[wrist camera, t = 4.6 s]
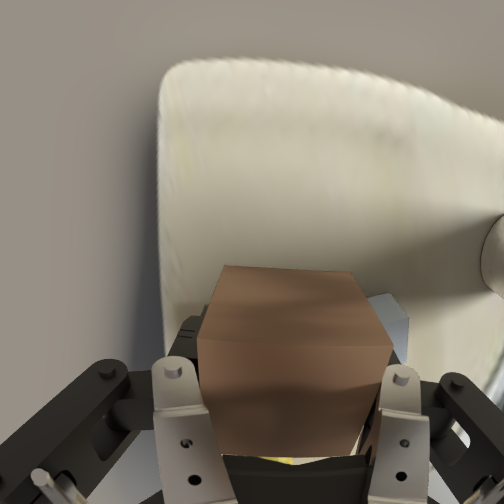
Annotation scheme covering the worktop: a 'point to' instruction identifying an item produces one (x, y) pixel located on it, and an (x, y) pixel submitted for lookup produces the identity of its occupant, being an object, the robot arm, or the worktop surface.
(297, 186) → the worktop surface
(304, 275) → the walnut cube
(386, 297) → the slate-blue cube
